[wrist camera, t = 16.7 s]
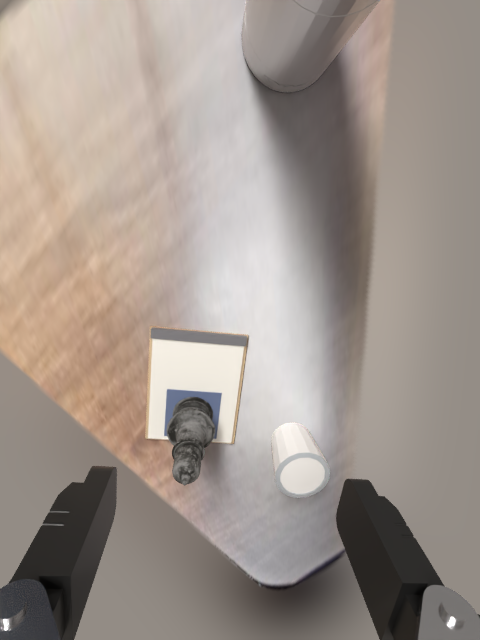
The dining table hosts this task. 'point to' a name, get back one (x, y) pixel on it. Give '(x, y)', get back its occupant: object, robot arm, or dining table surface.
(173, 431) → the dark grey chess bishop
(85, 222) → the dining table surface
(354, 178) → the dining table surface
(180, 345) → the order pad
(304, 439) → the shot glass
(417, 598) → the robot arm
